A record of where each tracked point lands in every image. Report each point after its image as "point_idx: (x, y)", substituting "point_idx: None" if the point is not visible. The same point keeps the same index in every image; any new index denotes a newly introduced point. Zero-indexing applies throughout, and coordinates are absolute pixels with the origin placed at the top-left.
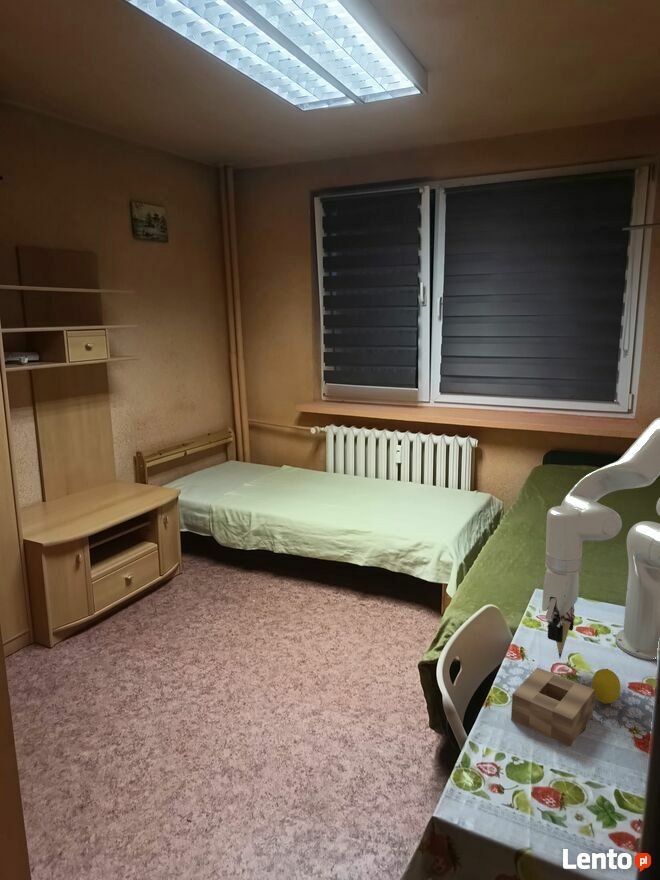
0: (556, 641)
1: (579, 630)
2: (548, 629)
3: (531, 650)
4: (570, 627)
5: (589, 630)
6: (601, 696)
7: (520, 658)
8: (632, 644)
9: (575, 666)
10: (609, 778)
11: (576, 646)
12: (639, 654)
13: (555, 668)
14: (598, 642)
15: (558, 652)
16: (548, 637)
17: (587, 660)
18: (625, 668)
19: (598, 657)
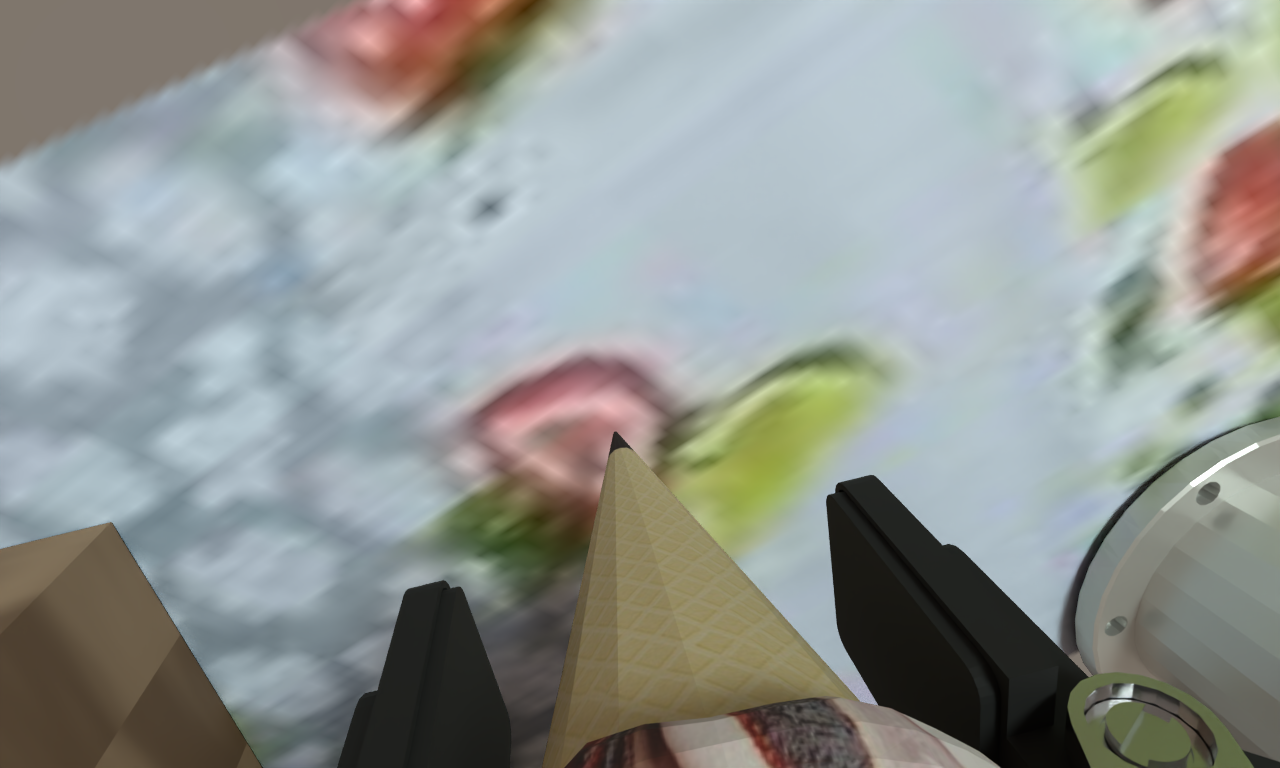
0: (598, 522)
1: (1235, 176)
2: (376, 717)
3: (626, 81)
4: (856, 658)
5: (1271, 232)
6: None
7: (401, 98)
8: (1169, 604)
9: (699, 473)
10: None
11: (973, 312)
12: (1092, 642)
13: (547, 406)
14: (1125, 378)
15: (609, 458)
16: (409, 603)
17: (838, 473)
18: None
19: (927, 491)
